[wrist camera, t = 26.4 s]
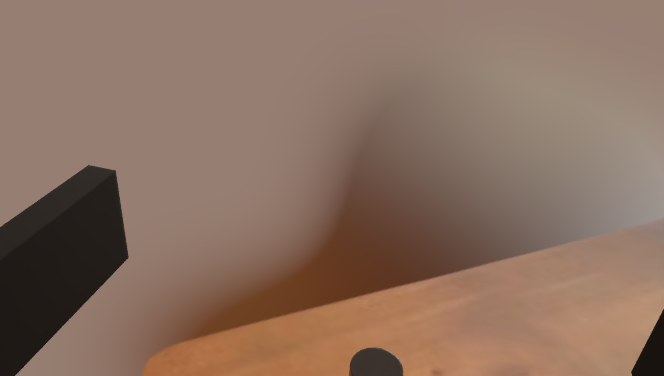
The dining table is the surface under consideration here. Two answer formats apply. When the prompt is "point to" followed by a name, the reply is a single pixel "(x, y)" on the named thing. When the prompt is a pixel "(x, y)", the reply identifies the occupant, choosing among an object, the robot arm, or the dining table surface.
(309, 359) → the dining table surface
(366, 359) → the lid
